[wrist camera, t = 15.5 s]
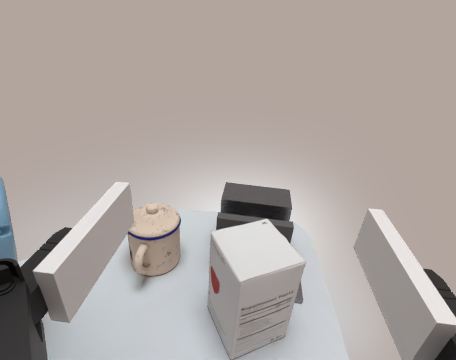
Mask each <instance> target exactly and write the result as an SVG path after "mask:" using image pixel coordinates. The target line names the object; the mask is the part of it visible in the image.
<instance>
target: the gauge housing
mask: <svg viewBox="0 0 456 360" xmlns="http://www.w3.org/2000/svg"><path fill="white" fill-rule="evenodd" d="M291 210H292V205H291V198H290V191H289V190H286V189H277V188H268V187H260V186H252V185H243V184H235V183H227V182H226V185H225V188H224V192H223V196H222V200H221V213H227V214H235V215H243V216H250V217H258V218H266V219H274V220H282V221H289V219H290V215H291ZM302 301H303V296H302V288H301V280H300V284H299V288H298V291H297V295H296V298H295V303H302Z"/></svg>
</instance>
